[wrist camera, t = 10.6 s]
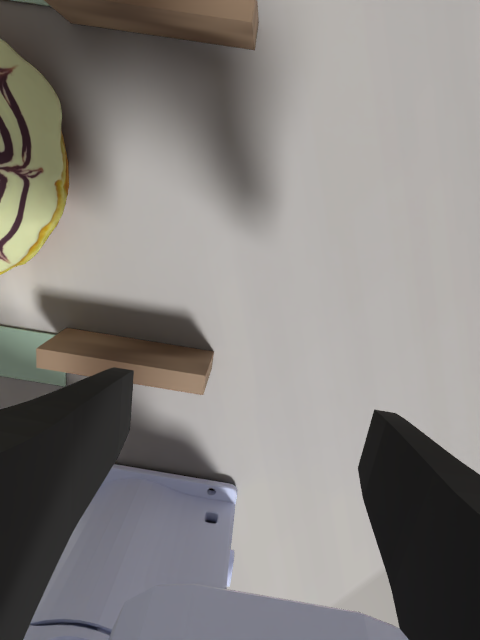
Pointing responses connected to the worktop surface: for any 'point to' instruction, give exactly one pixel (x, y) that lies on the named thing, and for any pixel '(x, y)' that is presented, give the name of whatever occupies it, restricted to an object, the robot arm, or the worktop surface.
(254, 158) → the worktop surface
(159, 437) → the worktop surface
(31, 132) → the decorated donut
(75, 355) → the tunnel walls
